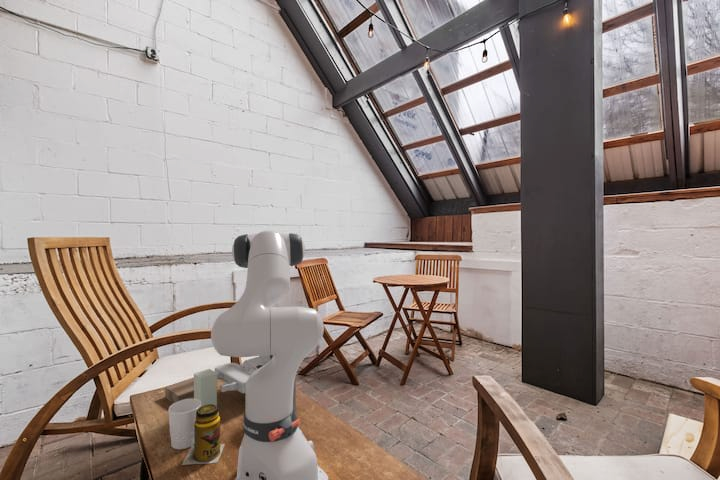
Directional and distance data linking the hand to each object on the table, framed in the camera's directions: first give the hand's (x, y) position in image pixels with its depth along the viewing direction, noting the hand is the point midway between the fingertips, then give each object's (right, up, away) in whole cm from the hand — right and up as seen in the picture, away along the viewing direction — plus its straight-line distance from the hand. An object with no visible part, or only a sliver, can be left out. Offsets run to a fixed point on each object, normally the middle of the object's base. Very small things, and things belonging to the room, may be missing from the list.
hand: (214, 384), depth 110 cm
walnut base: (-13, -7, +7) cm, 16 cm away
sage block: (-2, -7, -2) cm, 8 cm away
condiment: (+7, -8, -23) cm, 26 cm away
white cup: (0, -8, -18) cm, 20 cm away
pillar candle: (+22, -8, -4) cm, 24 cm away
